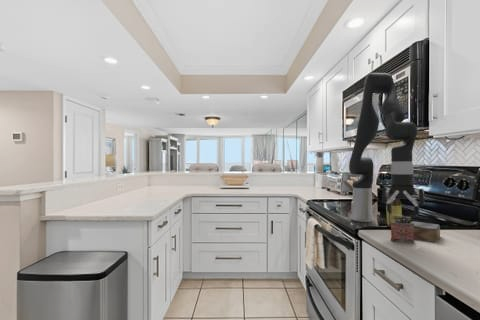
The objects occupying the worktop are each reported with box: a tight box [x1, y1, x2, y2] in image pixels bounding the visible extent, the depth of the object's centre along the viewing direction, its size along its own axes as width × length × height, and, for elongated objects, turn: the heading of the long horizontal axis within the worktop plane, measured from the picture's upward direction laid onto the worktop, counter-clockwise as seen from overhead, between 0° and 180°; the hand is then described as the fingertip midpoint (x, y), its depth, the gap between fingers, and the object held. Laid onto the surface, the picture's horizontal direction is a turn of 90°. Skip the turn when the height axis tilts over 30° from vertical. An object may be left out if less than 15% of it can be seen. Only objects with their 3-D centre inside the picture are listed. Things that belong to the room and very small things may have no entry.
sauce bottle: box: [385, 184, 403, 228], centre depth 126 cm, size 6×6×20 cm
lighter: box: [390, 215, 415, 244], centre depth 104 cm, size 8×3×10 cm, turn 74°
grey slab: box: [411, 221, 441, 243], centre depth 110 cm, size 10×10×5 cm
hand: (402, 214), depth 104 cm, fingers open, 8 cm apart
